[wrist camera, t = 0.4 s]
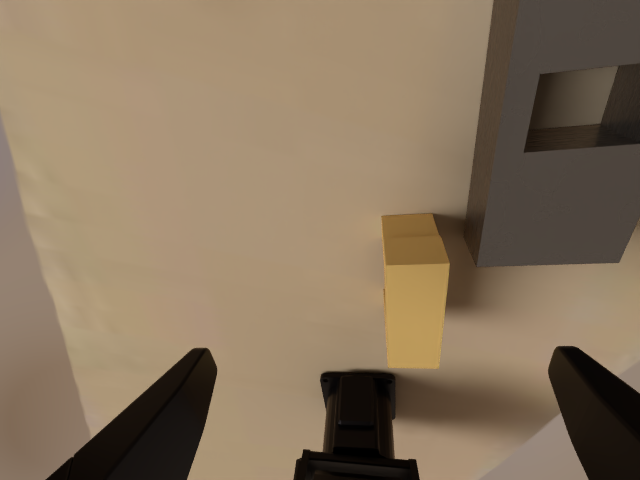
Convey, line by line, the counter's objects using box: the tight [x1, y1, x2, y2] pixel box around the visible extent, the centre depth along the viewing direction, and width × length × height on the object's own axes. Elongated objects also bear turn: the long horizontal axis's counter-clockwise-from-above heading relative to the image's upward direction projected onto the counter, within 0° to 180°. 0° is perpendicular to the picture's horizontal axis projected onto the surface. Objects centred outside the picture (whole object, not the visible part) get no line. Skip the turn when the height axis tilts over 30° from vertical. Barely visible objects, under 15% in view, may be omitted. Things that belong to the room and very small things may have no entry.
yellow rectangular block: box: [382, 213, 450, 368], centre depth 21 cm, size 8×3×5 cm, turn 7°
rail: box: [464, 0, 640, 267], centre depth 14 cm, size 22×7×3 cm, turn 7°
